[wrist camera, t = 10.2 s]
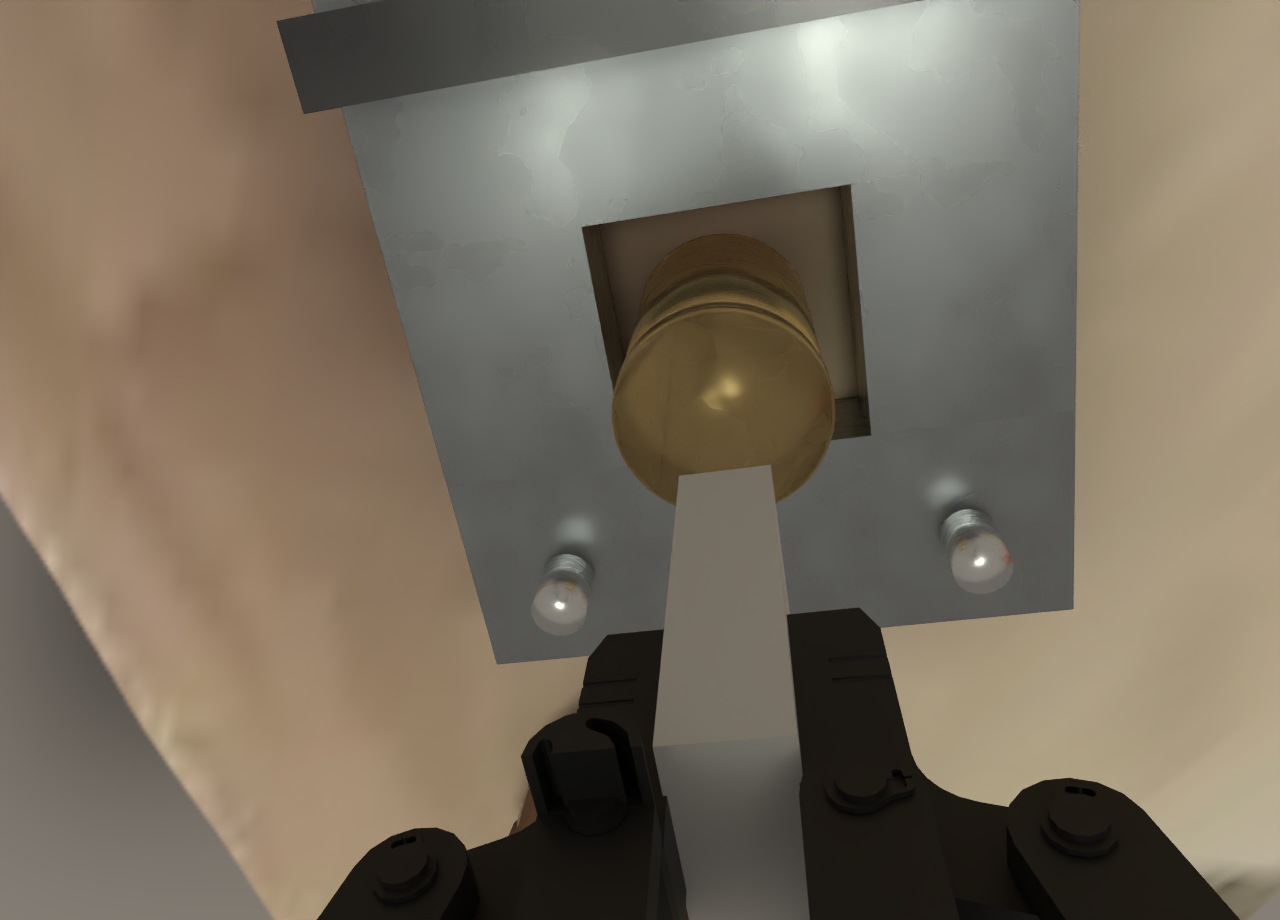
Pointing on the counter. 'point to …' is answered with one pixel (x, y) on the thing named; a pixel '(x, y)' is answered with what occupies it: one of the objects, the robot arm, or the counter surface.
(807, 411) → the amber grooved cylinder
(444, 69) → the jig
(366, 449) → the counter surface
